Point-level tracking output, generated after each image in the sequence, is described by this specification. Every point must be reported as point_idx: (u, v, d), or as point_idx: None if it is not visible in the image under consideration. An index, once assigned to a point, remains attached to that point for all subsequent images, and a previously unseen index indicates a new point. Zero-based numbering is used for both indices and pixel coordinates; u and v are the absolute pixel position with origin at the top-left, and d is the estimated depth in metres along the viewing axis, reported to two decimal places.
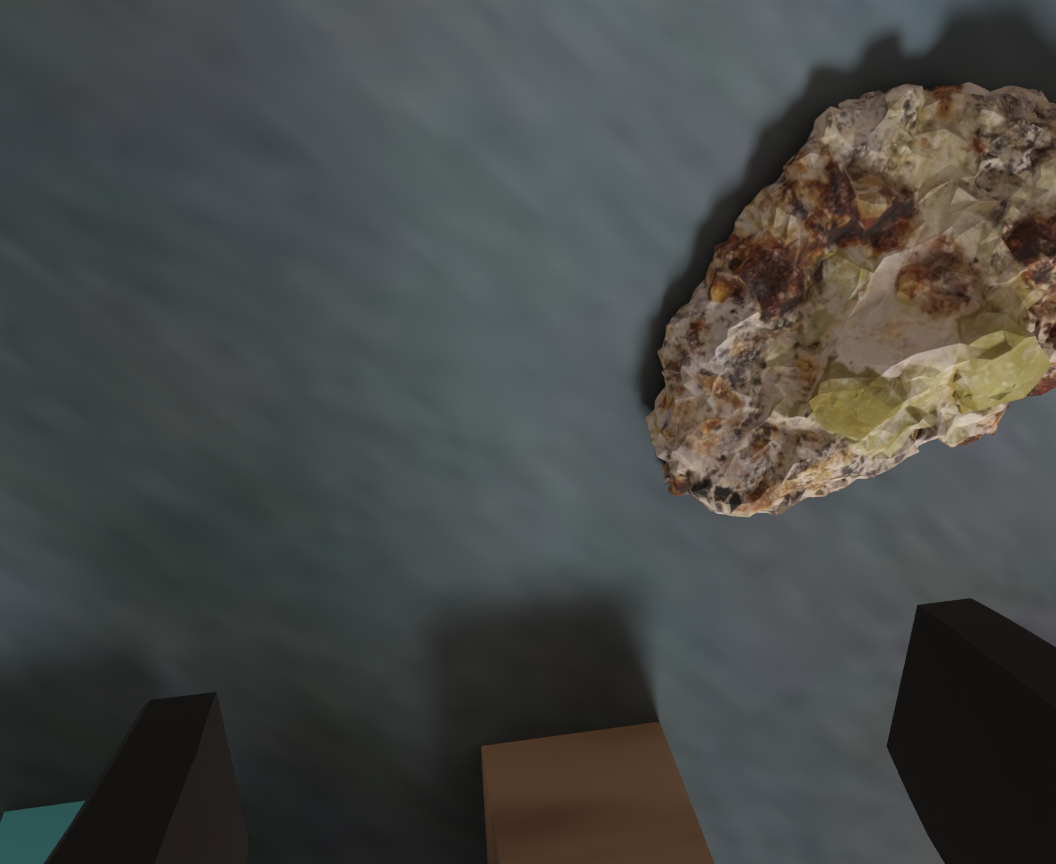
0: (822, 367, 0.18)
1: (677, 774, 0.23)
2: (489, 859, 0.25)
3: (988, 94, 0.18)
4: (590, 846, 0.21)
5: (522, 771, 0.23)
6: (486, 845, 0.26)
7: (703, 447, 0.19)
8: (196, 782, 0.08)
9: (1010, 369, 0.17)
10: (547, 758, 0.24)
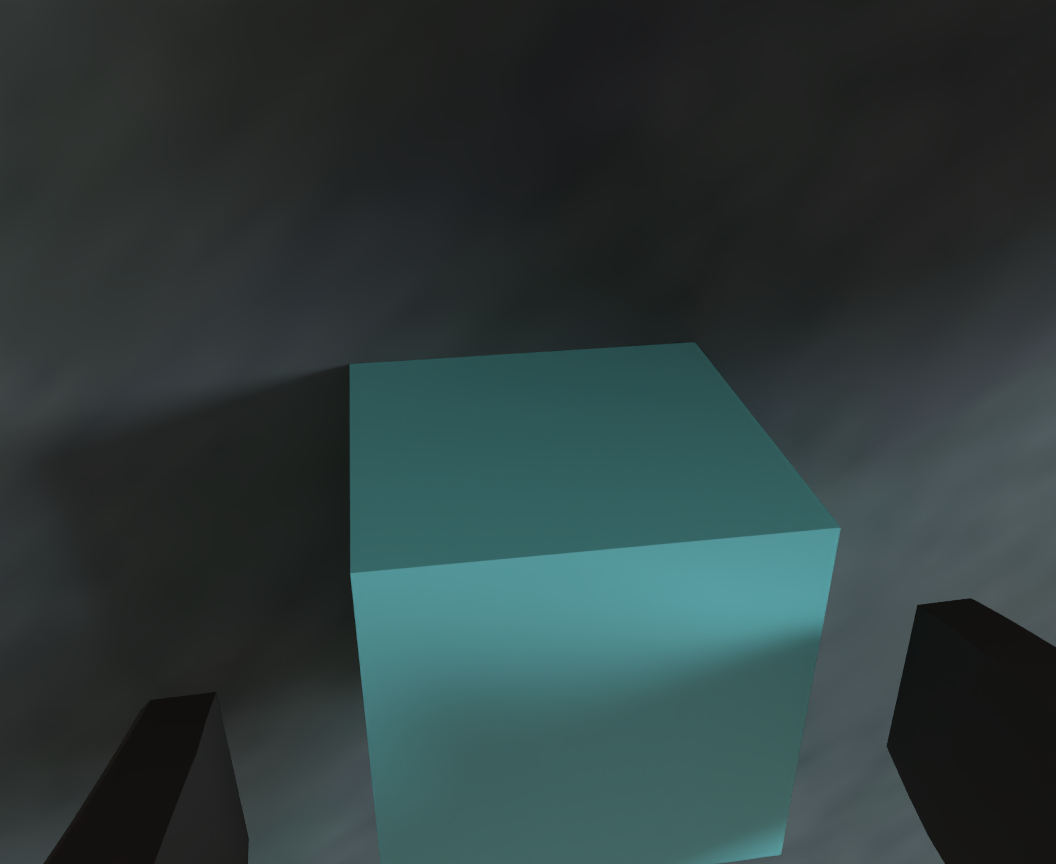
0: None
1: None
2: None
3: None
4: None
5: None
6: None
7: None
8: (196, 782, 0.08)
9: None
10: None
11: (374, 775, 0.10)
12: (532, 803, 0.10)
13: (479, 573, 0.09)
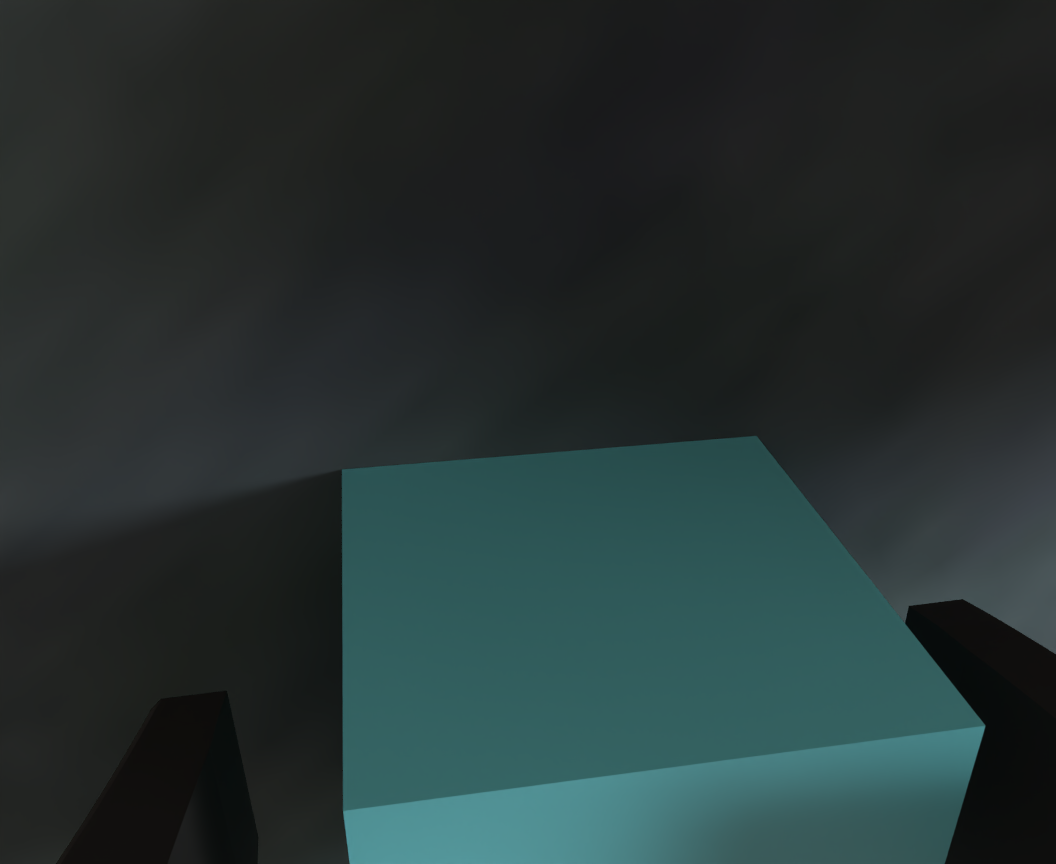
0: None
1: None
2: None
3: None
4: None
5: None
6: None
7: None
8: (207, 780, 0.08)
9: None
10: None
11: None
12: None
13: (515, 800, 0.07)
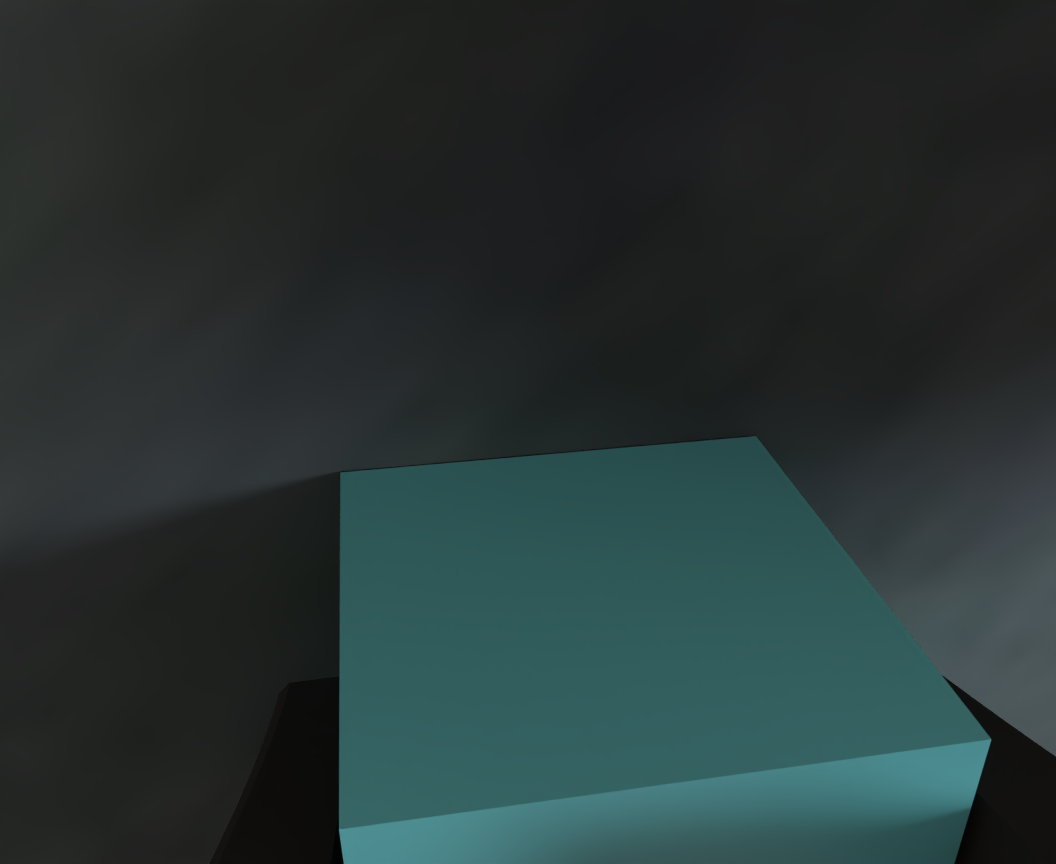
0: None
1: None
2: None
3: None
4: None
5: None
6: None
7: None
8: None
9: None
10: None
11: None
12: None
13: (514, 817, 0.06)
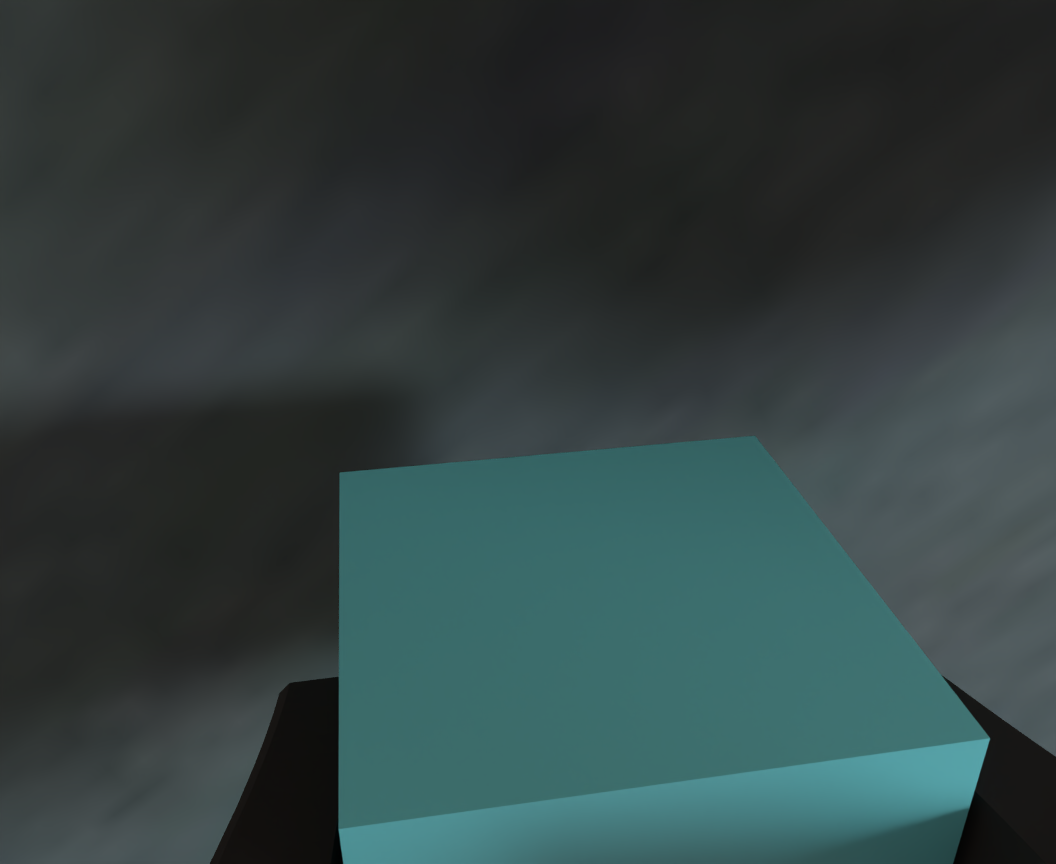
0: None
1: None
2: None
3: None
4: None
5: None
6: None
7: None
8: None
9: None
10: None
11: None
12: None
13: (512, 817, 0.06)
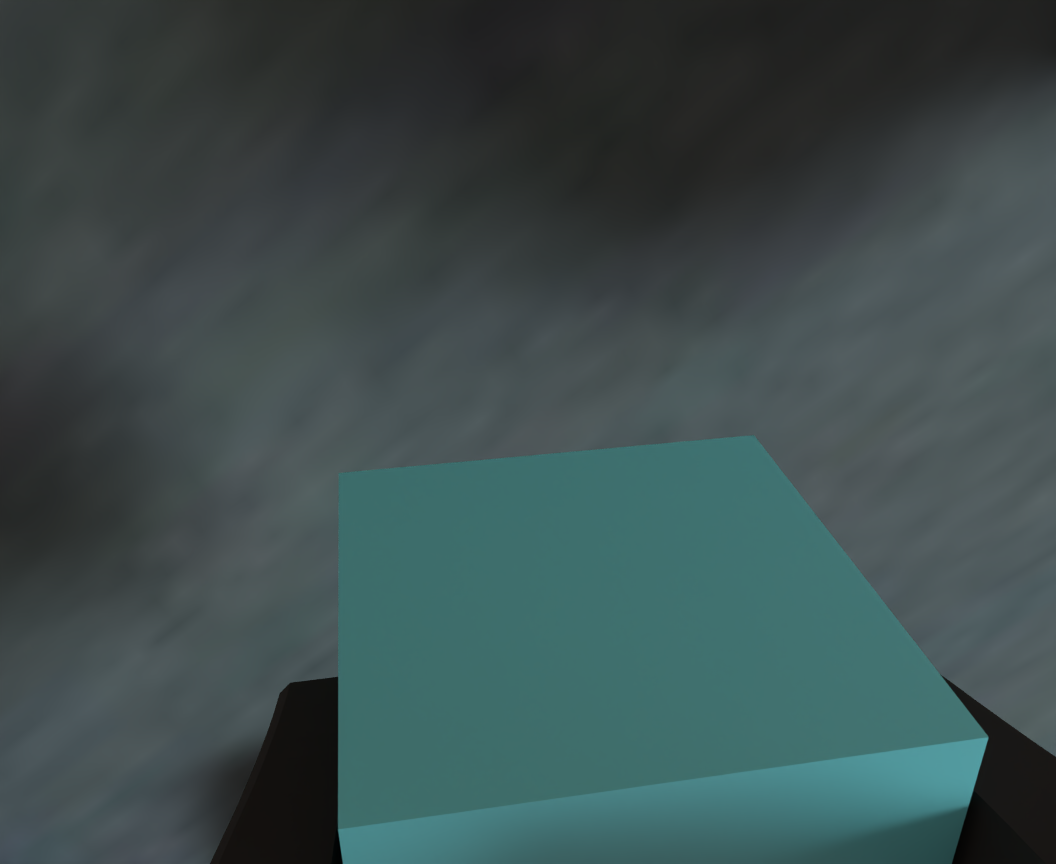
0: None
1: None
2: None
3: None
4: None
5: None
6: None
7: None
8: None
9: None
10: None
11: None
12: None
13: (512, 816, 0.06)
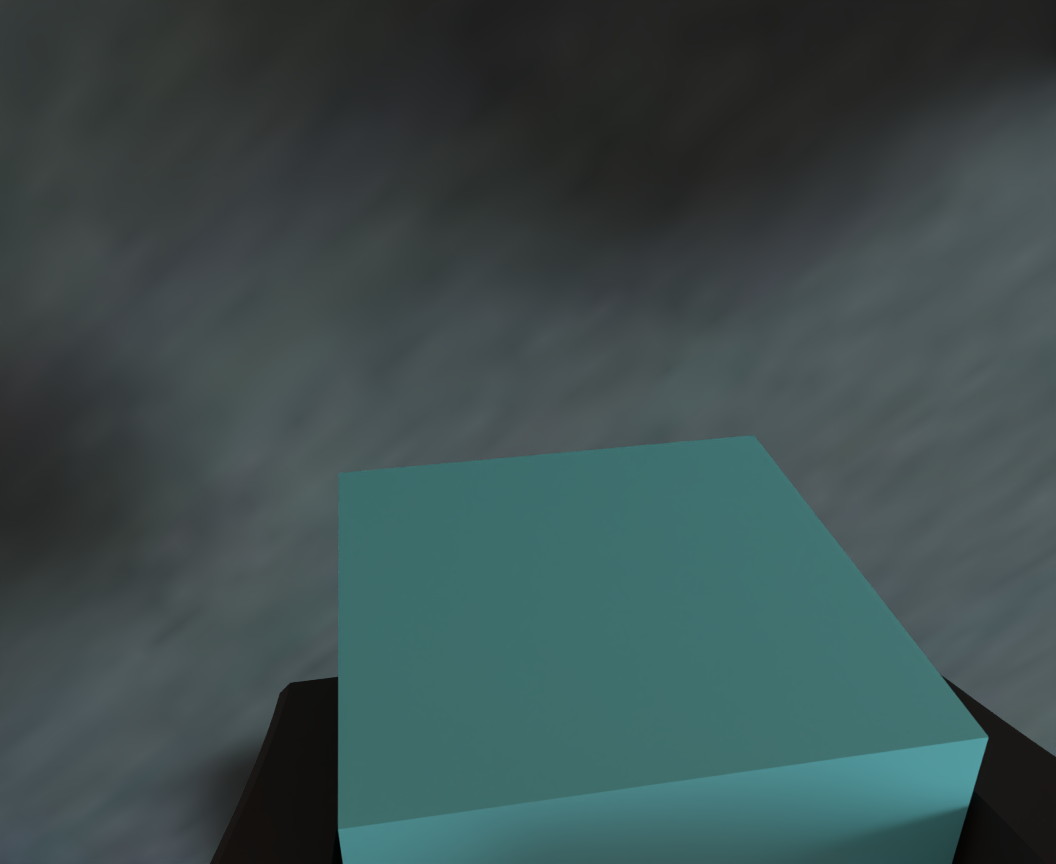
0: None
1: None
2: None
3: None
4: None
5: None
6: None
7: None
8: None
9: None
10: None
11: None
12: None
13: (512, 816, 0.06)
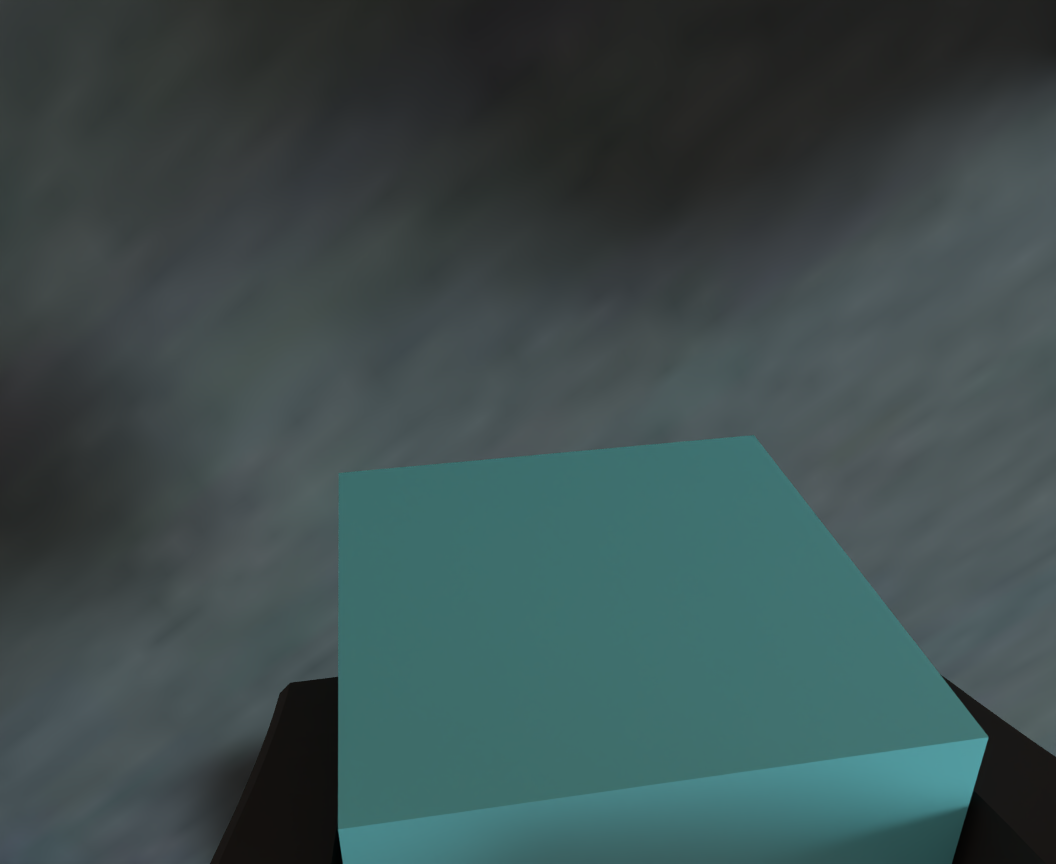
0: None
1: None
2: None
3: None
4: None
5: None
6: None
7: None
8: None
9: None
10: None
11: None
12: None
13: (512, 816, 0.06)
